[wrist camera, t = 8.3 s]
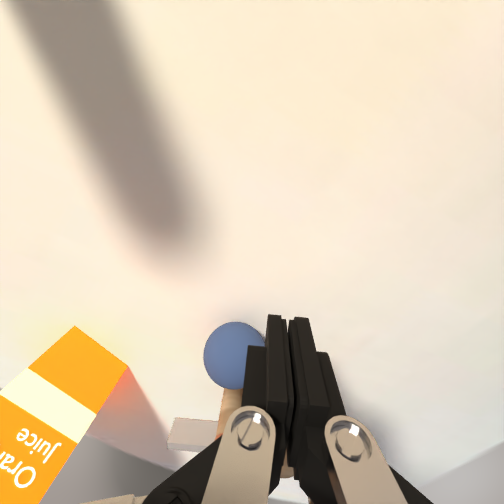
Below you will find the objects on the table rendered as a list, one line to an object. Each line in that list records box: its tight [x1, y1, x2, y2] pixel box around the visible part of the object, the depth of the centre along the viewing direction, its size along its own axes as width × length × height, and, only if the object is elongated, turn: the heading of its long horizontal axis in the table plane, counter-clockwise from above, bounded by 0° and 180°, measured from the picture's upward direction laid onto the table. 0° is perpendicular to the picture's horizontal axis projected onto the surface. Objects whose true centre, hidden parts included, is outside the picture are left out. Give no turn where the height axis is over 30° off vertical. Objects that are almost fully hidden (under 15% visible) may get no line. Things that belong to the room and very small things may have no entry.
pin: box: [215, 388, 243, 440], centre depth 26 cm, size 2×2×8 cm
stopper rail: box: [167, 418, 218, 452], centre depth 31 cm, size 20×1×3 cm, turn 86°
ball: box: [204, 322, 265, 389], centre depth 24 cm, size 6×6×6 cm
